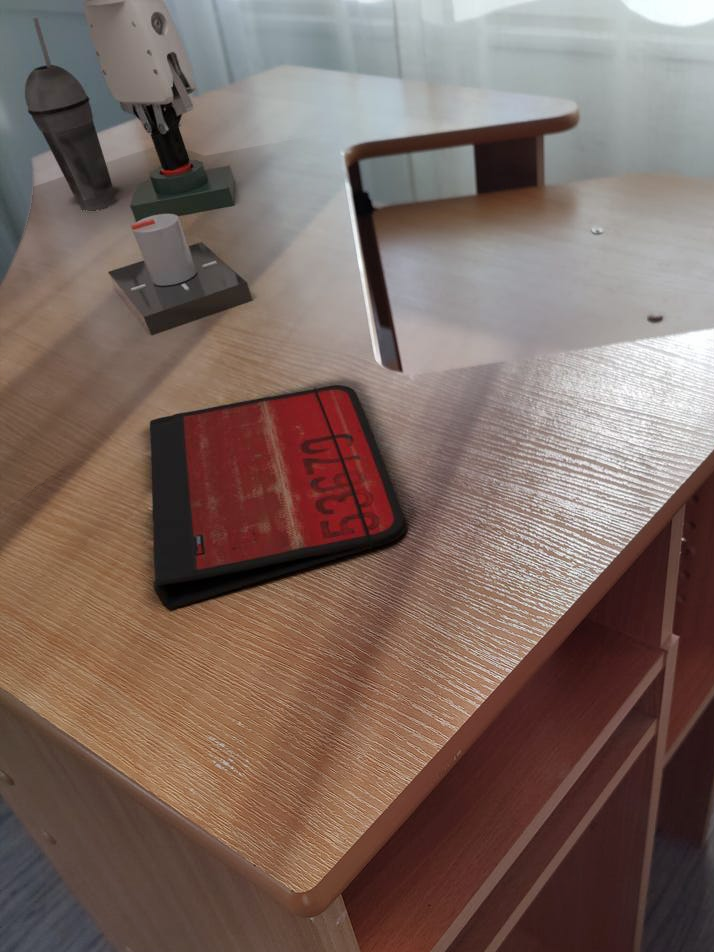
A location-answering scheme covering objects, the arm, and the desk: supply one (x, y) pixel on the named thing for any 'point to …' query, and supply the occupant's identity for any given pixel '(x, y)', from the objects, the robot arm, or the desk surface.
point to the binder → (265, 491)
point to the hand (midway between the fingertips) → (176, 166)
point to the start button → (177, 170)
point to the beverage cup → (69, 131)
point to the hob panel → (181, 292)
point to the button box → (184, 192)
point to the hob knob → (164, 249)
